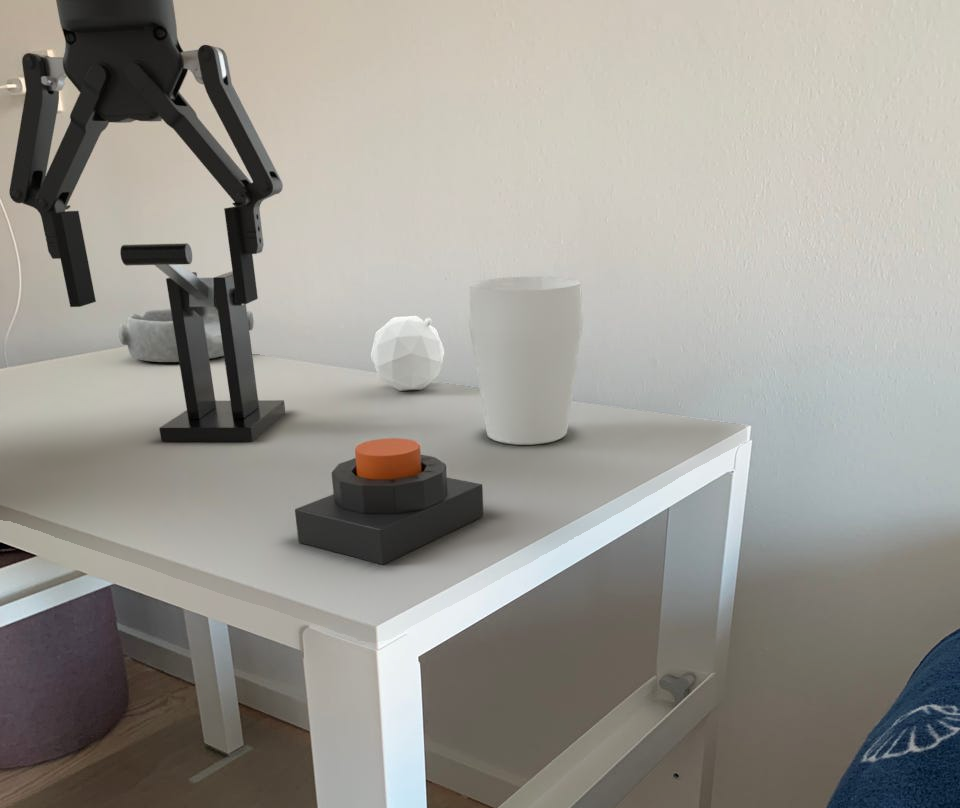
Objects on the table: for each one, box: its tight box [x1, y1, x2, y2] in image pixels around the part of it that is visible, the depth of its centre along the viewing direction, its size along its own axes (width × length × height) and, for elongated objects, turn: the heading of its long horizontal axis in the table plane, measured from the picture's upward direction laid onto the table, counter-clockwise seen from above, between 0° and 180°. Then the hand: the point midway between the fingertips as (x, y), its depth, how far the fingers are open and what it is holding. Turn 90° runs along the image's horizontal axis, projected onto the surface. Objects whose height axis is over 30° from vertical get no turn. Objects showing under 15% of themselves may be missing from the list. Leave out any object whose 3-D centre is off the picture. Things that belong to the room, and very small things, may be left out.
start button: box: [354, 437, 422, 479], centre depth 62 cm, size 4×4×2 cm
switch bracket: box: [158, 270, 286, 443], centre depth 86 cm, size 10×8×13 cm
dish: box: [118, 308, 255, 363], centre depth 121 cm, size 14×14×5 cm
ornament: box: [370, 315, 446, 392], centre depth 99 cm, size 7×7×8 cm
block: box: [294, 454, 484, 565], centre depth 63 cm, size 10×7×4 cm
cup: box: [468, 276, 584, 446], centre depth 81 cm, size 9×9×12 cm
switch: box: [120, 242, 218, 317], centre depth 80 cm, size 12×5×2 cm, turn 174°
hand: (164, 303), depth 76 cm, fingers open, 12 cm apart
